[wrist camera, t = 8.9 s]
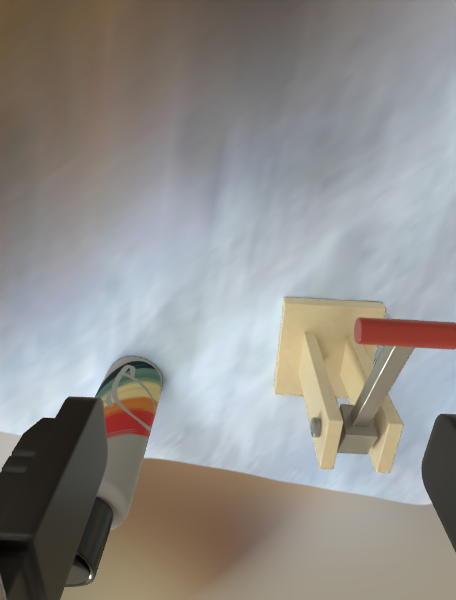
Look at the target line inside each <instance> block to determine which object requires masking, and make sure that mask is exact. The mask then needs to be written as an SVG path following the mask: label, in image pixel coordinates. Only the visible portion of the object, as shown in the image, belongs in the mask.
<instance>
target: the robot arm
mask: <svg viewBox="0 0 456 600" xmlns="http://www.w3.org/2000/svg"><path fill="white" fill-rule="evenodd" d="M107 458H108V441H107V432H106V423H105V414H104V405H103V401H102V399H101V398H93V397H68V398H67V399H66V400H65V402H64V403H63V405H62V407H61V409H60V410H59V412H58V414H57V416H56V418H42V419H41V420H39V421H38V422H37V423H36V424H35V425H33V426H32V427H31V428H30V429H29V430H27V431H26V432H25V433H24V434H23V435H22V437H21V439H20V441H19V442H18V443H17V445H16V447H15V448H14V450H13V451H12V455H11V456H9V458H8V459H7V461H6V463H5V464H4V466H3V467H2V471H1V473H0V600H60V598H61V595H62V593H63V590H64V587H65V584H66V581H67V578H68V576H69V573H70V570H71V567H72V564H73V561H74V558H75V556H76V553H77V550H78V547H79V544H80V541H81V538H82V536H83V533H84V530H85V527H86V524H87V521H88V519H89V516H90V513H91V510H92V507H93V504H94V501H95V499H96V496H97V493H98V490H99V487H100V484H101V481H102V479H103V476H104V473H105V469H106V465H107ZM422 478H423V483H424V486H425V489H426V491H427V493H428V495H429V497H430V499H431V501H432V503H433V506H434V508H435V510H436V511H437V514H438V516H439V518H440V520H441V522H442V524H443V526H444V529H445V531H446V533H447V535H448V537H449V539H450V541H451V543H452V545H453V548H454V550H455V552H456V414H440V415H439V416H438V417H437V418H436V420H435V423H434V426H433V429H432V432H431V435H430V439H429V442H428V445H427V448H426V451H425V454H424V457H423V460H422Z"/></svg>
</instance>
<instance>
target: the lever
mask: <svg viewBox="0 0 456 600" xmlns="http://www.w3.org/2000/svg"><path fill="white" fill-rule="evenodd" d="M354 338H355V342H356V343H357V344H363V345H381V346H384V347H383V349H382V351H381V353H380V355H379V357H378V359H377V361H376V363H375V365H374V367H373V369H372V371H371V373H370V375H369V377H368V379H367V381H366V383H365V385H364V387H363V389H362V391H361V393H360V395H359V397H358V399H357V401H356V403H355V405H347V404H341V405H340V408H339V409H340V413H341V416H342V419H343V426H342V431H341V435H340V440H339V445H338V449H337V453H352V454H367V453H368V452H369V450H370V448H371V447H372V445H373V444H374V442H375V441H376V439H377V438H378V435H377V430H376V426H375V421H374V416H375V414H376V412H377V411H378V409H379V407H380V406H381V404H382V402H383V400H384V399H385V397H386V395H387V394H388V392H389V390H390V389H391V387H392V385H393V383H394V382H395V380H396V378H397V377H398V375H399V373H400V372H401V370H402V368H403V367H404V365H405V363H406V361H407V360H408V358H409V356H410V355H411V353H412V351H413V350H414V348H415V347H417V348H435V349H456V323H454V322H436V321H418V320H400V319H382V318H364V317H359V318H357V319H356V322H355V325H354Z"/></svg>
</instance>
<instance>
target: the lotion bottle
mask: <svg viewBox="0 0 456 600" xmlns="http://www.w3.org/2000/svg"><path fill="white" fill-rule="evenodd" d="M162 383H163V382H162V376H161V373H160V371H159V369H158V368H157V367H156V366H155V365H154V364H153V363H152V362H150V361H148V360H146V359H144V358H141V357H135V356H130V357H124V358H121V359H119V360H117V361H116V362H115V363H114V364H113V365H112V366H111V367H110V369H109V370H108V372H107V374H106V376H105V378H104V380H103V382H102V384H101V386H100V388H99V390H98V392H97V394H96V396H95V398H101V399H102V401H103V405H104V414H105V423H106V432H107V441H108V458H107V465H106V469H105V473H104V476H103V479H102V481H101V484H100V487H99V490H98V493H97V496H96V499H95V501H94V504H93V507H92V510H91V513H90V516H89V519H88V521H87V524H86V527H85V530H84V533H83V536H82V538H81V541H80V544H79V547H78V550H77V553H76V556H75V558H74V561H73V564H72V567H71V570H70V573H69V576H68V578H67V581H66V584H65V587H76V586H83V585H88V584H90V583H91V582H93V580H94V578H95V576H96V572H97V569H98V566H99V563H100V560H101V557H102V553H103V551H104V547H105V544H106V541H107V537H108V534H109V531H110V530H112V529H114V528H116V527H117V526H119V525H120V524H121V523H122V522H123V521H124V519H125V518H126V516H127V514H128V512H129V509H130V505H131V502H132V498H133V495H134V491H135V487H136V484H137V480H138V476H139V472H140V469H141V465H142V461H143V458H144V454H145V450H146V447H147V443H148V439H149V435H150V432H151V428H152V424H153V421H154V417H155V413H156V409H157V406H158V402H159V398H160V394H161V390H162Z"/></svg>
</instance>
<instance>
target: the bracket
mask: <svg viewBox="0 0 456 600" xmlns="http://www.w3.org/2000/svg"><path fill="white" fill-rule="evenodd" d="M385 312H386V308H385V307H384V305H383V304H382V303H381V302H364V301H346V300H328V299H310V298H292V297H284V300H283V309H282V317H281V326H280V335H279V343H278V352H277V360H276V369H275V377H274V393H275V394H280V395H298V396H304V400H305V405H306V409H307V414H308V419H309V423H310V428H311V435H312V437H313V441H314V446H315V450H316V455H317V460H318V464H319V468H320V469H328V470H333V468H334V464H335V459H336V454H337V449H338V445H339V440H340V435H341V431H342V426H343V419H342V416H341V413H340V409H339V406H338V403H337V400H336V398H349V400H350V403H351V405H355V403H356V401H357V399H358V397H359V395H360V393H361V391H362V389H363V387H364V385H365V383H366V381H367V379H368V377H369V375H370V373H371V371H372V369H373V367H374V365H373V364H374V359H375V355H376V351H377V346H378V345H363V344H357V343H356V342H355V338H354V325H355V322H356V319H357V318H359V317H364V318H382V319H384V316H385ZM374 421H375V426H376V430H377V435H378V438H377V439H376V441H375V442H374V444H373V445H372V447H371V448H370V450H369V454H370V457H371V459H372V462H373V465H374V467H375V470H376V472H382V473H390V471H391V467H392V464H393V460H394V457H395V453H396V450H397V446H398V443H399V439H400V436H401V433H402V429H403V426H404V424H403V422H402V420H401V418H400V416H399V414H398V412H397V410H396V409H395V407H394V405H393V403H392V401H391V399H390V397H389V395H388V394H387V395H386V397H385V399H384V400H383V402H382V404H381V406H380V407H379V409H378V411H377V412H376V414H375V416H374Z"/></svg>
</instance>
